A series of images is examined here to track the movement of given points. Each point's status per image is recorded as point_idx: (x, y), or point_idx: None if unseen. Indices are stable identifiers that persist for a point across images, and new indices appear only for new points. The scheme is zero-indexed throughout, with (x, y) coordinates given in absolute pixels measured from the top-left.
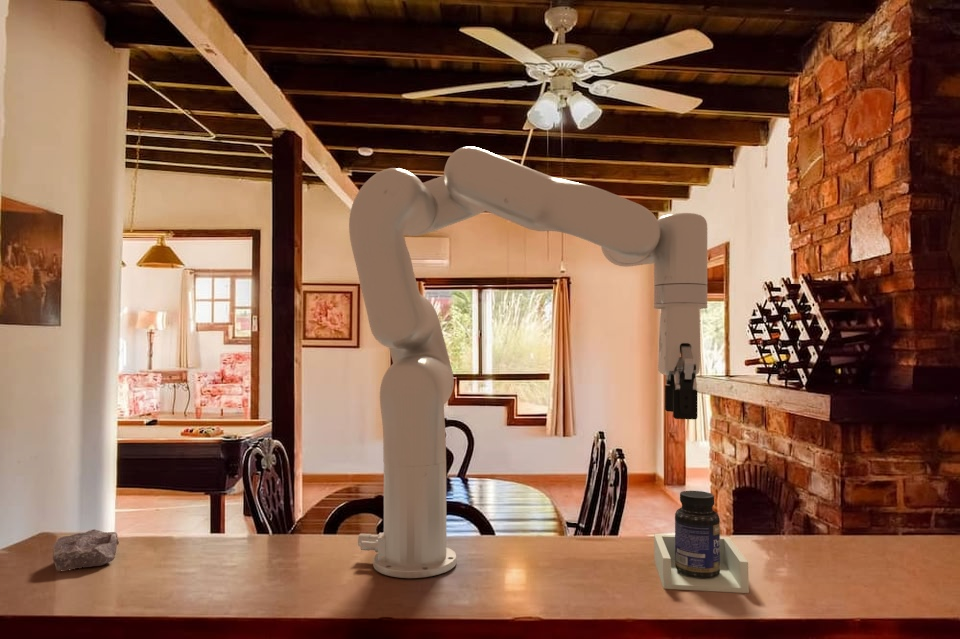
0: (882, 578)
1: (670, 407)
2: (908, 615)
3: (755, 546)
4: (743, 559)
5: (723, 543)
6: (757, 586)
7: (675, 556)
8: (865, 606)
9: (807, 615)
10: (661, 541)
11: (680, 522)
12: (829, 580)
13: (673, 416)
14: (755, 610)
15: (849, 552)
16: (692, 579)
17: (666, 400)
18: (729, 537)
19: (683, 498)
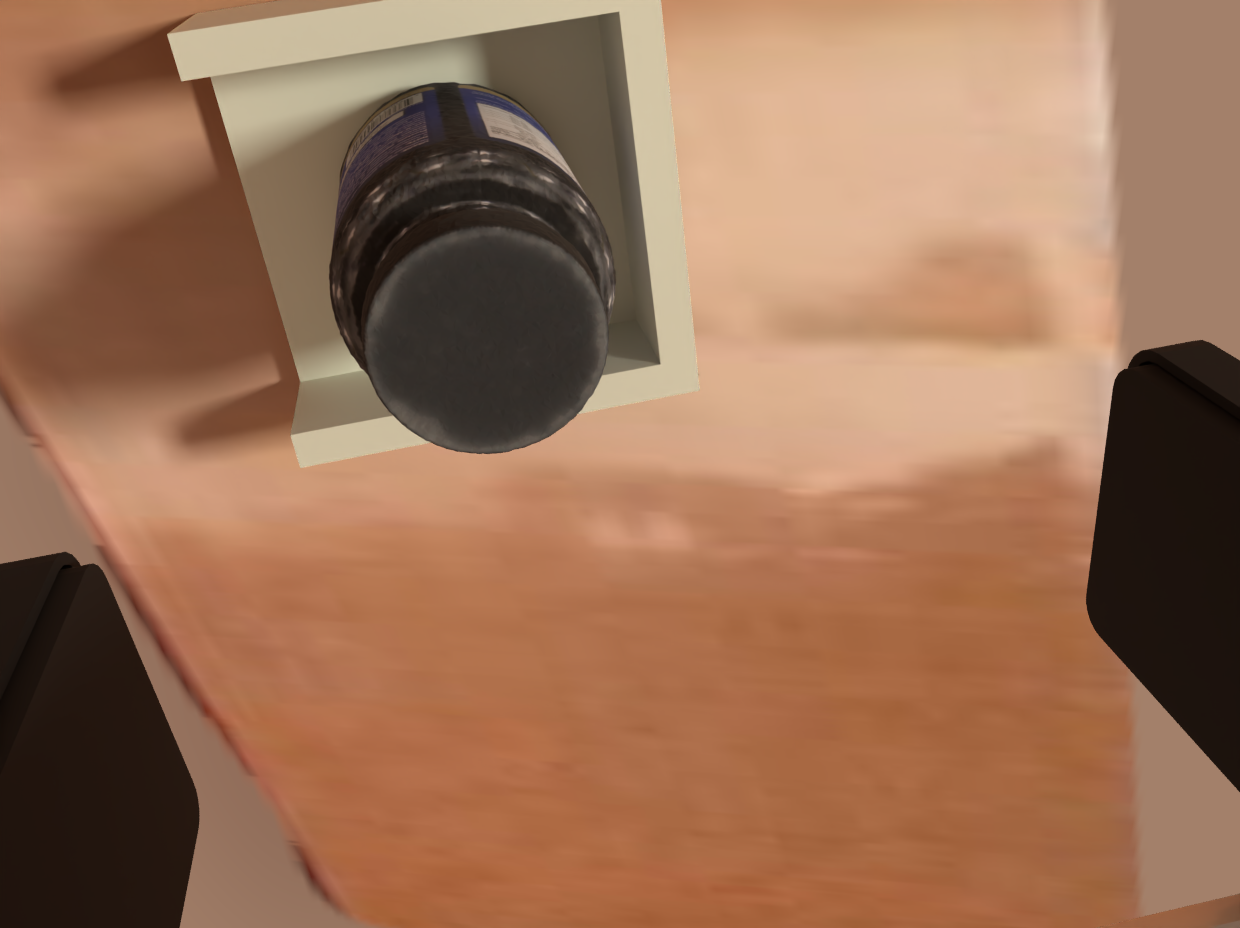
0: (654, 814)
1: (1142, 445)
2: (314, 842)
3: (960, 448)
4: (331, 449)
5: (653, 353)
6: None
7: (433, 93)
8: (344, 751)
9: (160, 588)
10: (507, 13)
11: (373, 178)
12: (581, 675)
13: (11, 564)
14: (116, 421)
15: (926, 752)
16: (330, 168)
17: (1228, 443)
18: (692, 391)
19: (403, 246)
